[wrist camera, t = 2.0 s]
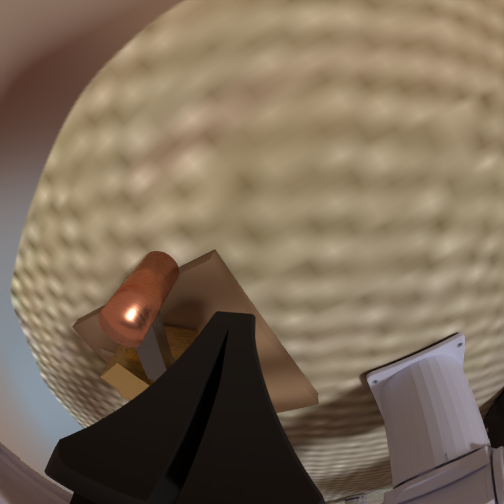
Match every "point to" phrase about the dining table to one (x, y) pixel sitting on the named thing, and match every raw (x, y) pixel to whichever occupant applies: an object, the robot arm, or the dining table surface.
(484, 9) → the dining table surface
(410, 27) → the dining table surface
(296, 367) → the square socket base
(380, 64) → the dining table surface
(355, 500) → the energy drink
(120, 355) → the golden gear lever
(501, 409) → the coffee maker
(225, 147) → the dining table surface
